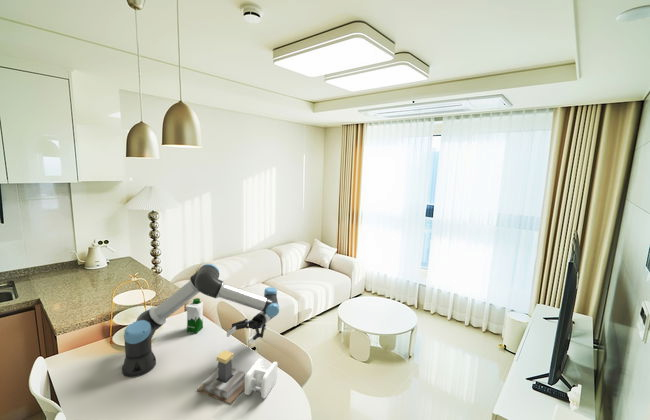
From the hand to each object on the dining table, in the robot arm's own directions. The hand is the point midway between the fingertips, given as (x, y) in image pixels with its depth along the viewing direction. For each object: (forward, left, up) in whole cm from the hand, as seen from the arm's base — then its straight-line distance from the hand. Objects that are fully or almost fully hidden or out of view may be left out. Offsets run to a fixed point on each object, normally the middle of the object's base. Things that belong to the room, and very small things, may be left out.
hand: (237, 337), depth 154 cm
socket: (+2, -12, -18) cm, 22 cm away
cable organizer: (+19, -6, -19) cm, 27 cm away
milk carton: (-48, +19, -19) cm, 55 cm away
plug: (+2, -12, -18) cm, 21 cm away
